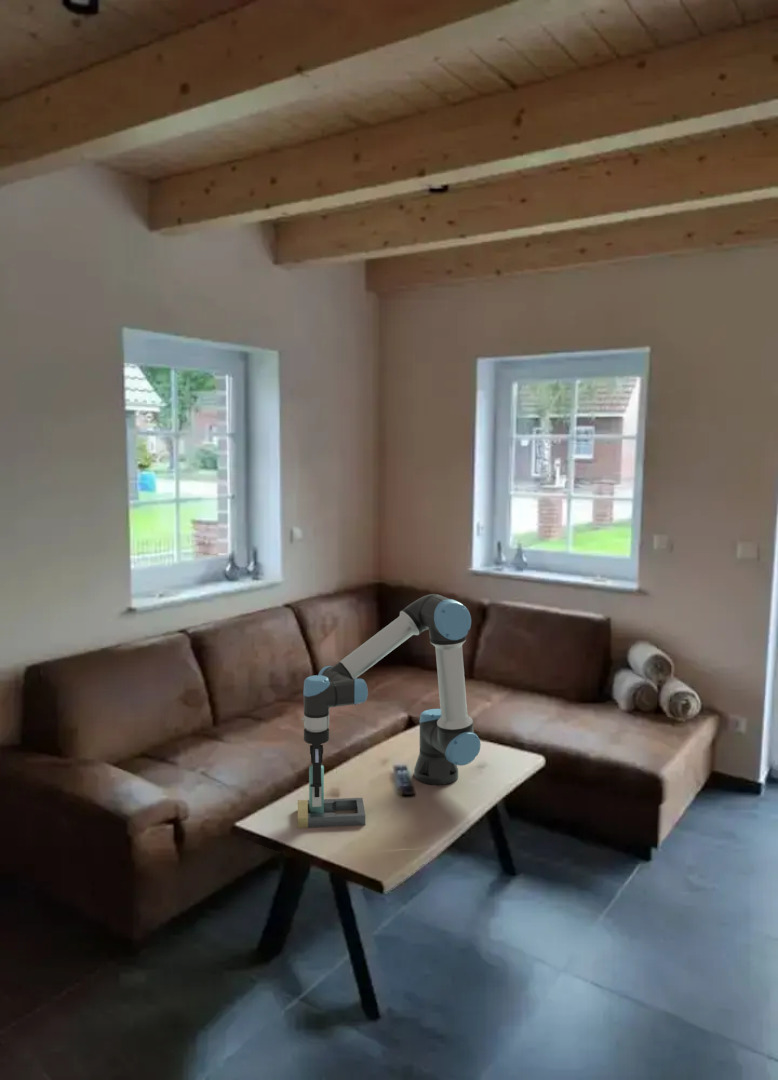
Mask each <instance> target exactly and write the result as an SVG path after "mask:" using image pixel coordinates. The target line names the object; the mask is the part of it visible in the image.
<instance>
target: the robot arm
mask: <svg viewBox="0 0 778 1080" xmlns="http://www.w3.org/2000/svg"><path fill="white" fill-rule="evenodd" d="M471 626H472V616H471V614H470V611H469V608H467V607H466V606H465V604H463V603H461V602H460V601H457V600H455V599H452V598H451V599H450V598H449V597H445V596H443V595H441V594H436V593H431V594H427V595H424V596H422V597H421V596H420V598H417V600H415V601H413V602H411V603H410V604H409V605H407V606H406V607H405V608H403V609H402V610H400V611H399V616H398V617H397V618H395V619H394V620H393V621H391V622H390V623H389V624H388V625H386V626H385V627H382V628H381V630H379V631H378V632H376V634H374V635H373V636H372V637H370V638H369V639H368V640H366V641H365V642H363V643H362V644H361V645H360V646H358V647H357V648H355V649H354V650H353V651H351V653H349V654H347V656H345V657H344V658H343V659H341V660H340V661H338V662H337V663H335V665H328V666H324V667H323V668H321V669H320V670H319V672H318V674H316V675H310V676H308V677H306V678H305V679H304V681H303V692H302V694H303V717H302V718H301V721H303V727H304V729H303V742H305V743H306V744H309V753H310V754H309V755H310V763H311V765H313V784H310V787H312V807H321V786H322V784H321V765H322V763H323V755H324V744H326V743H327V742H329V740H330V728H329V727H330V708H336V707H345V706H351V705H352V706H353V705H355V706H356V705H358V704H364V703H365V702H366V701H367V699H368V695H369V691H368V690H369V689H368V685H367V682H366V681H365V679H363V678H358V677H360V676H361V675H363V674H364V673H365V672H366V671H368V670H369V669H370V668H372V667H373V666H374V665H376V664H377V663H378V662H379V661H381V660H382V659H384V657H386V656H388V654H390V653H391V652H392V651H394V650H395V649H396V648H398V647H399V646H401V644H403V643H405V642H406V641H407V640H408V639H409V638H411V637H413V636H419V635H420V634H421V633H423V632H425V631H429V642H430V644H431V645H433V647H435V648H434V649H435V658H436V669H437V670H436V671H437V683H438V684H437V685H438V694H439V695H438V696H439V706H440V708H431V709H426V710H424V711H422V712H421V713H420V715H419V716H420V717H419V752H418V753H419V754H418V757H417V760H416V763H415V766H414V768H413V775H414V779H416V780H417V781H419V782H421V783H424V784H428V785H435V786H436V785H438V786H439V785H447V784H451V783H454V782H455V781H457V780H458V778H459V768H458V767H459V766H460V767H461V766H466V765H469V764H470V763H472V762H473V761H475V759H476V757H478V755H479V753H480V750H481V740H480V738H479V736H478V735H477V733H475V732H474V721H473V720H474V719H473V718H472V717H470V715H469V714H468V706H467V705H468V704H467V693H466V692H467V691H466V681H465V680H466V679H465V667H464V665H465V664H464V654H463V653H464V652H463V645H464V643H465V642H466V641H467V635H468V633H469V631H470V630H471V628H472V627H471Z"/></svg>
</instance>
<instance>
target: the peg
mask: <svg viewBox="0 0 778 1080" xmlns="http://www.w3.org/2000/svg"><path fill="white" fill-rule="evenodd" d="M308 776H309V777H308V783H309V784H308V785H309V786H308V787H309V788H308V790H309V791H308V792H309V793H308V800H309V813H324V799H325V766H324V765H323V764H321V784H322V786H321V807H312V787H310V784H313V765H312V764H311V765H309V767H308ZM309 813H308V814H309Z"/></svg>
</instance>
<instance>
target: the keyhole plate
mask: <svg viewBox="0 0 778 1080" xmlns="http://www.w3.org/2000/svg"><path fill="white" fill-rule="evenodd" d="M363 800H364V799H363V797H351V798H350V797H348V798H347V797H345V798H324V813H309V799H302V800H301V799H300V800H297V829H301V828H302V829H304V828H305V829H306V828H328V827H329V828H330V827H350V826H366V810H365V805H364V801H363ZM347 810H348V811H349V810H356V813H355V812H354V813H339V814H338V813H335V811H347Z"/></svg>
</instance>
